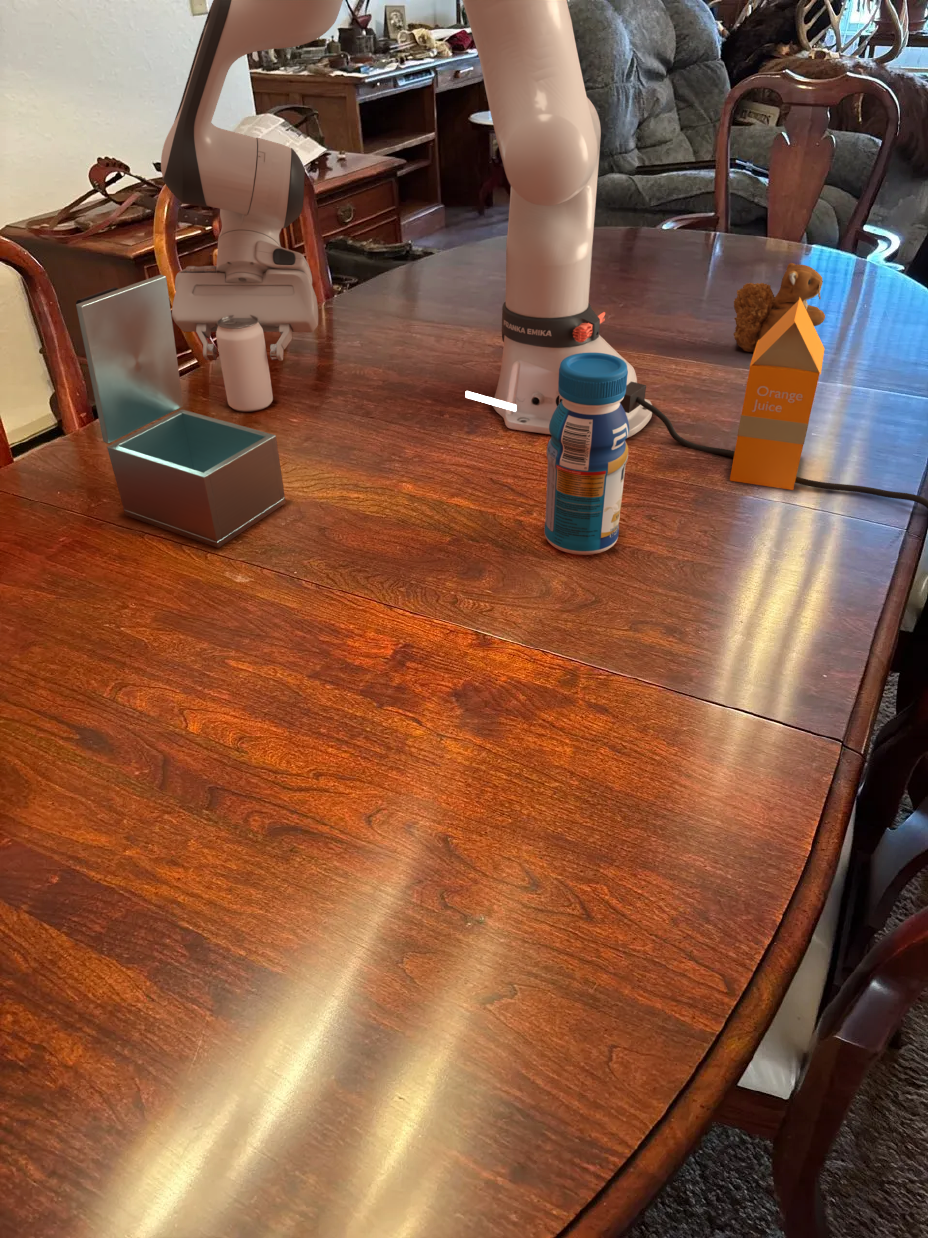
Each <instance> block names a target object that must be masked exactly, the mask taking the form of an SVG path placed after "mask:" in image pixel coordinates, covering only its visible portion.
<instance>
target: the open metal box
mask: <svg viewBox="0 0 928 1238" xmlns="http://www.w3.org/2000/svg"><path fill="white" fill-rule="evenodd" d="M278 447H279V446H278V441H277V435H276V434H273V433H269V432H267V431H266V432H265V431H263V430H262V431H261V430H258V429H254V428H251V427H247V426H243V425H240V424H236V423H233V422H230V421H226V420H222V419H219V418H216V417H211V416H208V415H204V414H200V413H196V412H193V411H191V410H186V409H180V410H178V411H175V412H174V413H172V414H169V415H168V416H166V417H164V418H162V419H159V420H157V421H155V422H154V423H152V424H150V425H148V426H145V427H143V428H142V429H140V430H138V431H136V432H133V433H132V434H130V435H127V436H125V437H124V438H122V439H119V440H118V441H116V442H113V443H112V444H110V445H107V446H106V449H107V452H108V455H109V459H110V464H111V467H112V472H113V475H114V479H115V482H116V486H117V489H118V493H119V498H120V500H121V505H122V508H123V512H124V515H125V516H127V517H128V518H132V519H135V520H137V521H141V522H143V523H146V524H149V525H150V526H154V527H157V528H160V529H163V530H166V531H168V532H172V533H174V534H176V535H180V536H182V537H185V538H188V539H191V540H194V541H196V542H200V543H202V544H205V545H208V546H211V547H213V548H216V549H219V548H221V547H222V546H224V545H225V544H227V543H228V542H230V541H231V540H233V539H234V538H236V537H238V536H239V535H241V534H242V533H244V532H245V531H246V530H248V529H249V528H251V527H253V526H254V525H255V524H257V523H258V522H260V521H262V520H263V519H264V518H266V517H268V516H269V515H270V514H272V513H273V512H275V511H276V510H278V509H279V508H281V507H282V506H284V505H285V504H287V501H286V495H285V488H284V482H283V474H282V468H281V462H280V454H279V448H278Z"/></svg>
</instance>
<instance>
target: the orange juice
mask: <svg viewBox="0 0 928 1238" xmlns="http://www.w3.org/2000/svg"><path fill="white" fill-rule="evenodd" d="M815 327H816V326H814V325H813V323H812V321H811V319H810V317H809V315H808V313H807V311H806V309H805V307H804V305H803V302H802V300H801V298H799V300H798V301H797V302H796V303H795V304H794V305H793V306H792V307H791V308H790V309H789V310H788V311H787V312H786V313H785V314H784V315H783V316H782V318H781V319H780V320H779V321H778V322H777V323H776V324H775V325H774V326H773V327H772V328H771V329H770V330H769V331H768V332H767V333H766V334H765V335H764V336H763V337H762V338H761V339H760V340H758V342H757V344H756V347H755V350H754V351H753V354H752V356H751V360H750V363H749V369H748V375H747V379H746V382H745V383H746V384H745V392H744V398H743V403H742V409H741V414H740V417H739V418H740V419H739V424H738V429H737V436H736V442H735V447H734V451H735V453H734V457H733V459H732V465H731V471H730V475H729V481H731V482H738V483H744V484H749V485H756V486H762V487H763V486H764V487H770V488H776V489H784V490H789V491H790V490H791V491H794V488H795V484H796V483H795V480H796V476H797V474H798V471H799V466H800V462H801V458H802V454H803V453H802V452H803V448H804V445H805V441H806V436H807V433H808V428H809V425H810V424H809V423H810V417H811V413H812V410H813V407H814V406H815V405H814V402H815V397H816V394H817V388H818V386H819V384H820V383H819V381H820V376H821V375H822V370H823V361H824V355H825V350H826V349H825V346H824V344H823V342H822V340H821V338H820V336H819V334H818V331H817V329H816V328H815Z"/></svg>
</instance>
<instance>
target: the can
mask: <svg viewBox="0 0 928 1238" xmlns="http://www.w3.org/2000/svg"><path fill="white" fill-rule="evenodd" d="M233 316H234V315H230V316H226V317H223V318H221V319H219V320H218V321H217V325H218V328H217V331H216V332H215V338H216V344H217V351H218V356H219V361H220V367H221V368H220V369H221V373H222V378H223V383H224V391H225V394H226V395H225V396H226V400H227V405H228V406H229V407H230V408H231V409H232V410H234V411H237V412H244V413H250V412H251V413H252V412H257V411H261V410H264V409H266V408H268V407H270V406H271V404H272V402H273V400H274V396H273V388H272V387H273V386H272V380H271V373H270V366H269V360H268V352H267V345H266V340H265V332H263V329H262V327H261V326H260V324H259V322H258V321H259V319H258V318H257V317H256V316H253V315H250V316H251V317H252V318H232V317H233ZM231 318H232V319H231Z"/></svg>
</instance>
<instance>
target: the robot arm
mask: <svg viewBox="0 0 928 1238" xmlns="http://www.w3.org/2000/svg"><path fill="white" fill-rule="evenodd" d="M461 1H462V5H463V9H464V10H465V14H466V17H467V21H468V24H469V28H470V32H471V34H472V38H473V41H474V45H475V48H476V52H477V55H478V59H479V64H480V68H481V73H482V79H483V83H484V88H485V93H486V98H487V102H488V109H489V112H490V117H491V121H492V125H493V129H494V134H495V138H496V142H497V146H498V150H499V154H500V158H501V161H502V166H503V169H504V173H505V177H506V179H507V181H508V183H509V185H510V194H509V210H508V220H507V222H508V223H507V233H506V241H505V242H506V245H505V247H506V248H505V249H506V250H505V256H506V257H505V301H504V302H503V304H502V309H501V314H502V315H501V340H502V343H503V347H502V356H501V357H502V358H501V366H500V372H499V376H498V382H497V386H496V390H495V393H494V397H491V396H486V395H483V394H479V393H476V392H472V391H469V390H466V391H465V398H466V399H469V400H473V401H477V402H479V403H480V402H481V403H484V404H487V405H491V406H492V408H493V409H494V411H495V412H496V413H497V414H498V415H499V416H500V417H502V418H503V420H504V425H505V427H506V428H508V429H510V430H515V431H516V430H517V431H523V432H528V433H529V432H530V433H538V434H545V435H551V434H550V431H549V424H550V420H551V418H552V415H553V413H554V411H555V410H556V408H557V406H558V405H559V404H560V402H561V401H562V399H561V397H560V395H559V391H558V381H559V368H560V364H561V362H562V360H563V359H565V358H566V357H568V356H571V355H574V354H579V353H604V354H609V355H613V356H616V357H618V358H620V359H622V360H623V361H624V362H625V363H626V364H627V370H628V376H627V386H626V393H625V396H624V398H623V400H622V401H621V402H620V403H621V405H622V407H623V409H624V411H625V413H626V415H627V418H628V422H629V435H628V437H627V438H626V439H628V438H631V437H632V436H634V435H636V434H638V433H639V432H640V431H641V430H642V429H643V428H645V427H646V425H647V424H649V422H650V421H651V419H652V417H653V414H654V416H656V417H657V418H658V419H659V420H661V422H662V423H663V424H664V426H665V427H666V429H667V431H668V433H669V435H670V436H671V437H672V439H673V440H674V441H675V442H677V443H679V444H680V445H682V446H684V447H685V448H690V449H691V450H696V451H700V452H704V453H708V454H712V455H719V456H725V457H730V458H734V453H735V450H731V449H726V448H720V447H719V448H718V447H712V446H705V445H701V444H696V443H693V442H691V441H689V440H686V439H685V438H684V437H682V436H681V435H680V434H678V433H677V432H676V430H675V428H674V426H673V424H672V422H671V421H670V419H669V418H668V417H667V415H665V414H664V413H663V412H662V411H661V410H660V409H658V408H657V407H655V406H654V405H653V403H652V402H651V400H650V399H648V398H646V390H647V384H643V383H639V382H638V377H637V374H636V370H635V368H634V367H633V365H631V363H629V362H628V360H626V359H625V358H624V357H623V356H622V355H620V353H618V351H617V350H616V349H615V348H614V347H613V346H611V345H610V343H608V342H607V341H606V340H605V338H603V336H601V335H600V329H601V328H600V327H601V324H602V323H604V322H605V319H606V318H605V315H606V312H605V311H603V312H602V313H600V314H597V313H596V312H595V311H594V309H593V308H592V306H591V304H590V302H589V301H590V289H591V288H590V286H591V272H592V271H591V270H592V258H593V257H592V256H593V241H594V229H595V228H594V227H595V218H596V217H595V215H596V203H597V191H598V190H597V189H598V177H599V176H598V175H599V163H600V151H601V138H602V137H601V135H602V129H601V121H600V117H599V114H598V111H597V109H596V107H595V105H594V104H593V103H592V101H591V99H590V98H588V96H587V92H586V87H585V83H584V77H583V73H582V68H581V63H580V59H579V54H578V48H577V43H576V39H575V33H574V28H573V21H572V17H571V13H570V8H569V5H568V1H567V0H461ZM343 2H344V0H212V3H211V5H210V7H209V9H208V10H209V11H208V13H207V15H206V18H205V22H204V25H203V28H202V31H201V33H200V37H199V40H198V44H197V46H196V49H195V53H194V57H193V58H192V59H193V60H192V64H191V67H190V69H189V73H188V76H187V81H186V82H185V87H184V90H183V93H182V97H181V99H180V103H179V106H178V109H177V111H176V115H175V118H174V120H173V124H172V125H171V128H170V129H169V131H168V133H167V136H166V138H165V141H164V143H163V145H162V146H163V147H162V151H161V156H160V157H161V158H160V170H161V176H162V177H161V178H162V181H163V183H164V184H165V186H166V187H167V188H168V190H169V191H170V193H172V195H173V196H174V197H175V198H176V199H177V200H178V201H179V202H180V203H181V204H183V205H190V206H197V207H204V208H208V207H211V208H214V209H219V217H220V222H221V230H220V233H219V235H218V237H217V238H218V239H217V249H216V250H217V251H216V253H217V254H216V265H204V266H203V265H202V266H196V265H188V266H186V267H185V268H184V269H182V270H179V272H177V273H176V275H175V279H174V280H175V281H174V291H175V293H174V297H173V302H172V306H171V307H172V308H171V317H172V321H174V323H175V324H176V326H177V327H178V328H179V329H180V330H181V331H182V332H185V333H196V334H197V336H198V338H199V340H200V342H201V344H202V347H203V348H202V356H203V359H204V360H205V361H217V359H218V356H217V355H218V347H217V346H216V345H215V344H214V343H210V342H209V341H208V339H210V338H211V336H212V333H216V331H217V328H218V325H217V321H218V320H219V319H221V318H223V317H226V316H230V315H234V316H233V317H232V318H252V317H251V316H250V315H253V316H256V317H257V318H258V319H259V321H258V322H259V324H260V326H261V327H262V329H263V332H264V333H279V334H280V336H279V339H278V340H277V341H276V343H271V344H270V345H269V350H270V351H269V357H270V359H271V361H277V362H278V361H284V350H286V348H287V347H288V345H289V344H290V343H291V341H292V340H293V333H313V332H314V331H315V330H316V329H317V328H318V326H319V305H318V298H317V294H316V292H315V289H314V287H313V275H312V271H311V270H312V269H311V268H310V265H309V263H308V262H307V259H306V258H305V256H304V254H302V253H301V252H298V251H295V250H291V249H288V248H285V247H282V245H281V242H280V241H281V240H280V235H281V232H282V229H286V228H287V227H289V226H290V225H292V224H293V223H294V222H295V221H296V220H297V219H298V218H299V217H300V216H301V214H302V211H303V208H304V197H305V176H306V175H305V173H306V168H305V166H304V164H303V161H302V160H301V158H300V156H299V155H298V153H297V152H296V151H295V149H293V148H292V147H290V146H288V145H285V144H281V143H279V142H275V141H271V140H268V139H264V138H261V137H254V136H250V135H246V134H244V133H243V134H242V133H239V132H235V131H231V130H228V129H224V128H220V127H218V126H216V125H215V124H213V123H212V122H213V118H214V115H215V111H216V109H217V105H218V104H219V103H218V102H219V99H220V96H221V93H222V91H223V88H224V84H225V81H226V78H227V75H228V73H229V71H230V68H231V67H232V65H233V64H234V63H235V62H236V61H237V60H239V59H240V58H242V57H244V56H247V55H249V54H252V53H256V52H261V51H266V50H267V51H268V50H275V49H286V48H287V49H289V48H294V47H299V46H303V45H306V44H309V43H312V42H313V41H315V40H318V39H319V38H321V37H323V36H324V35H325V34H326V33H327V32H328V31H330V29H331V28H332V27H334V24H335V23H336V21H337V19H338V16H339V15H340V11H341V8H342V4H343ZM232 318H231V319H232ZM795 484H798V485H802V486H805V487H810V488H816V489H823V490H829V491H830V490H831V491H839V492H840V491H843V492H851V493H852V492H854V493H861V494H867V495H873V496H878V497H881V498H882V497H884V498H887V499H888V498H889V499H897V500H905V501H911V502H914V503H917V504H920V505H922V506H923V507H925V508H926V509H928V499H927V498H926V497H923V496H921V495H918V494H914V493H909V492H901V491H892V490H886V489H881V488H876V487H870V486H863V485H855V484H846V483H834V482H825V481H817V480H812V479H807V478H805V477H799V476H797V475H796V480H795Z"/></svg>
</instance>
